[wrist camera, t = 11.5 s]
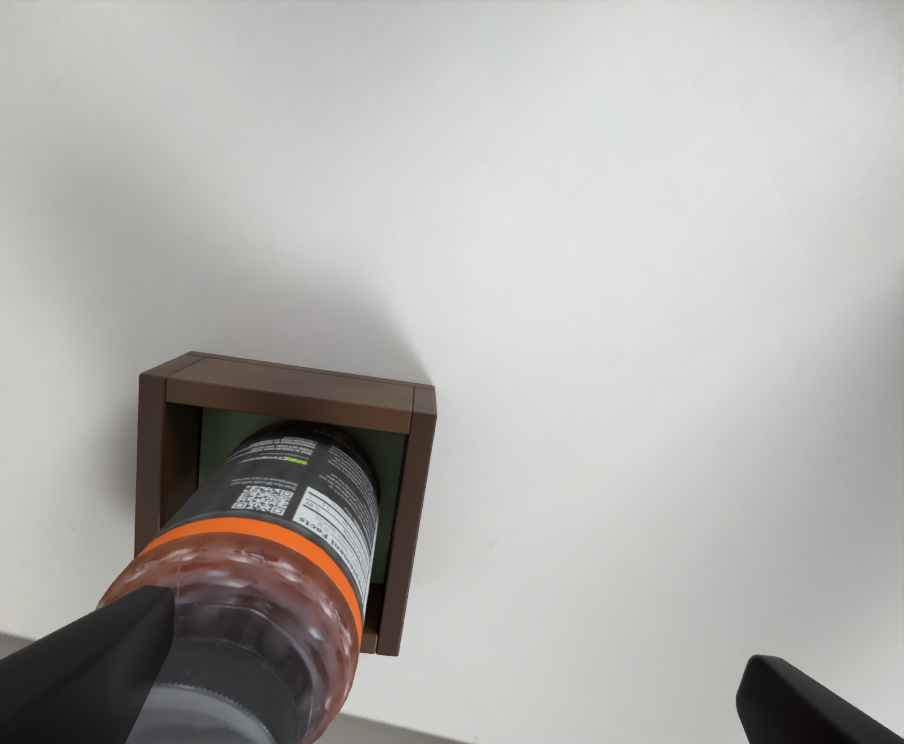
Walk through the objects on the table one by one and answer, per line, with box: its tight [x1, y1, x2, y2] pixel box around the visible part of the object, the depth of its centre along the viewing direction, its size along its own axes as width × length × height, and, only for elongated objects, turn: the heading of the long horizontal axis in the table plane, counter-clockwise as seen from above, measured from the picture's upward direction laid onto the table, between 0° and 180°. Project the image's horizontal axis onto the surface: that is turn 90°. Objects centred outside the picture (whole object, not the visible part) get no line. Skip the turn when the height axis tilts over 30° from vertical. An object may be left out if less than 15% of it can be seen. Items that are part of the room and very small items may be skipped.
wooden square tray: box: [134, 351, 437, 656], centre depth 19 cm, size 9×9×4 cm
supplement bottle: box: [95, 420, 381, 744], centre depth 14 cm, size 6×6×11 cm
